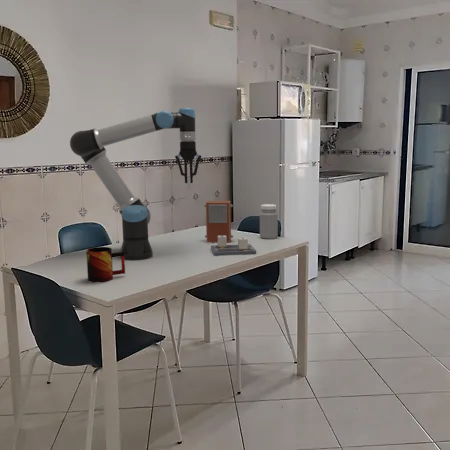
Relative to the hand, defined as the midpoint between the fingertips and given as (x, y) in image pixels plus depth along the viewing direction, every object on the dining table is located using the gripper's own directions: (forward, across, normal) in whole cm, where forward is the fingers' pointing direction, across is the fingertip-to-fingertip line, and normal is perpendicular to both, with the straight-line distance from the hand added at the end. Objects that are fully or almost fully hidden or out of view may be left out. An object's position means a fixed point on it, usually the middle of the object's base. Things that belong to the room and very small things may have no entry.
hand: (189, 189), depth 253 cm
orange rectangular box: (+30, +16, +16) cm, 37 cm away
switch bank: (+29, +20, -9) cm, 37 cm away
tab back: (+27, +15, -5) cm, 32 cm away
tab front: (+27, +24, -13) cm, 39 cm away
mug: (+30, -37, -48) cm, 67 cm away
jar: (+30, +44, +21) cm, 57 cm away
